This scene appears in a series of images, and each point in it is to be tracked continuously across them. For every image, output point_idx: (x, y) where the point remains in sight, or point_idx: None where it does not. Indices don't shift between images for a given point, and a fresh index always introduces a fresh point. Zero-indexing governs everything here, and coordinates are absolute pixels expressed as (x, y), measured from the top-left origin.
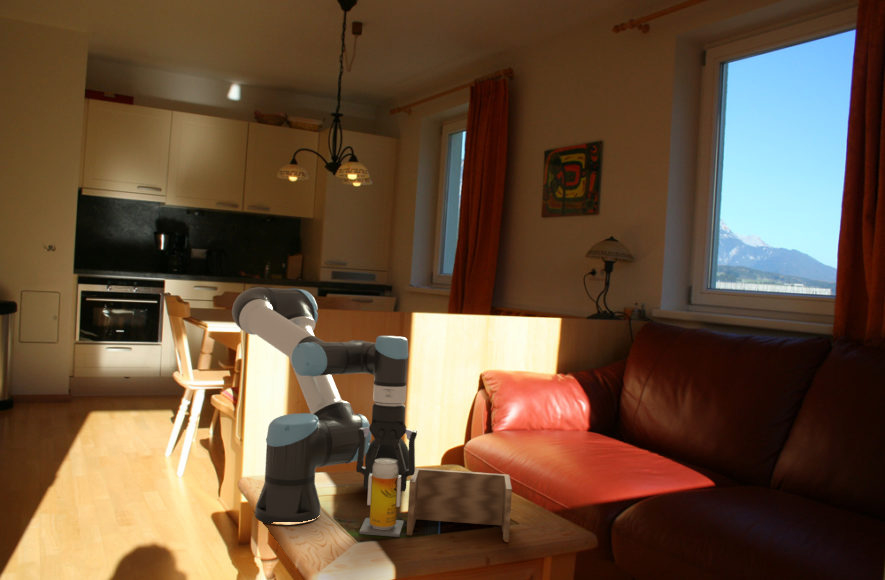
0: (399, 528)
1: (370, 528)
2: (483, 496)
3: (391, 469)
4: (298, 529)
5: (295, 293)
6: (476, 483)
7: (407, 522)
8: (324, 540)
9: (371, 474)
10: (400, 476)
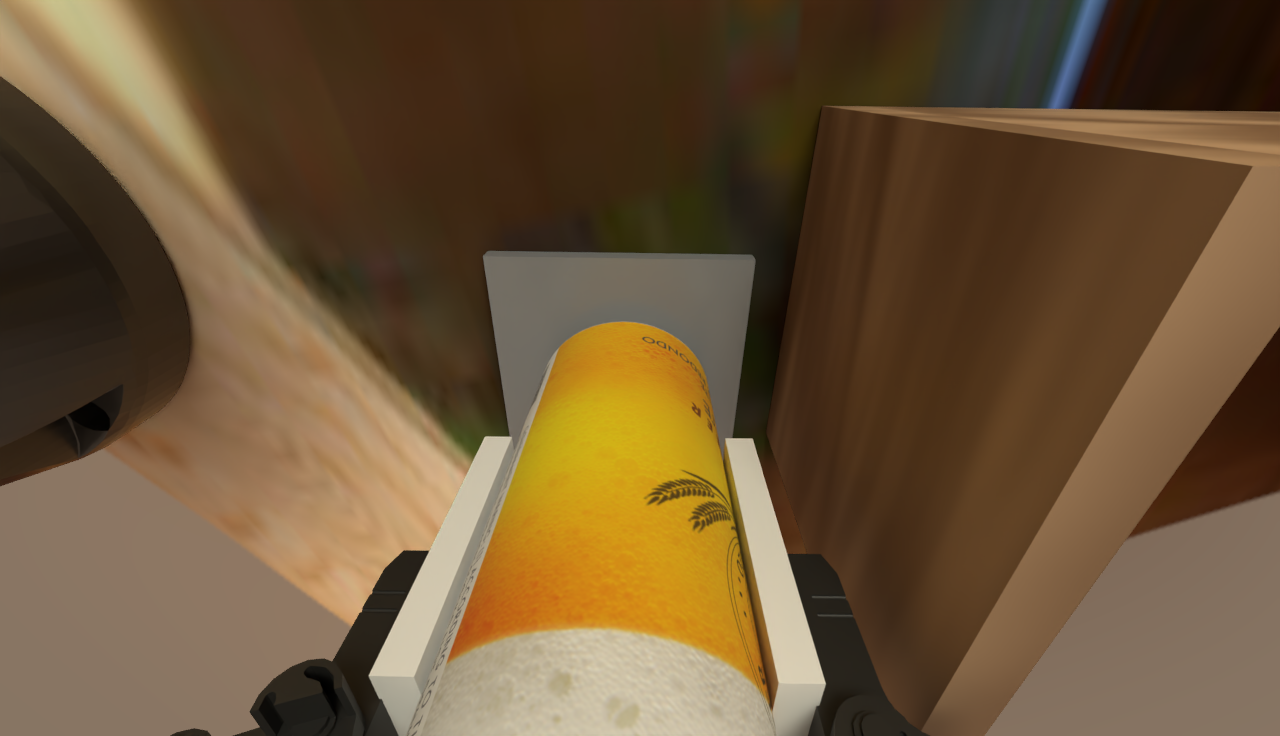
0: (728, 398)
1: None
2: None
3: None
4: (199, 450)
5: None
6: None
7: (783, 478)
8: (391, 537)
9: (406, 707)
10: (798, 724)
